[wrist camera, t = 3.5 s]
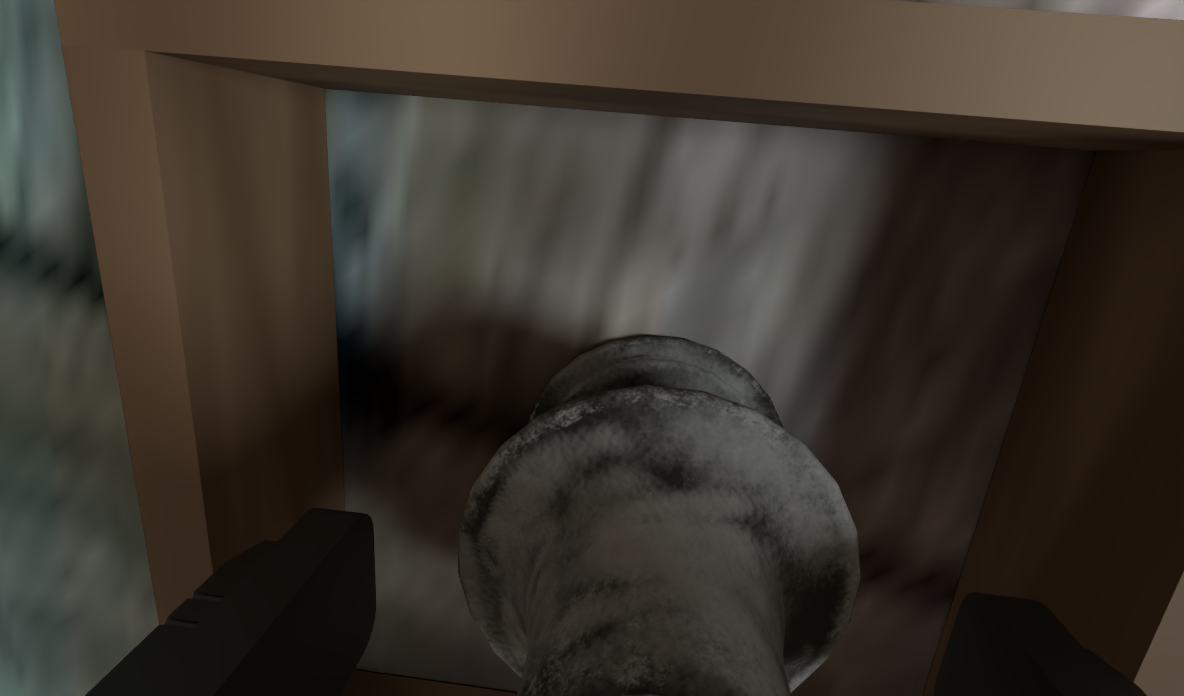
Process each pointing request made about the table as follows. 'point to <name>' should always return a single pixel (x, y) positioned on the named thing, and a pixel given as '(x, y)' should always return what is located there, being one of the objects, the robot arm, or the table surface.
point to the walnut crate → (641, 86)
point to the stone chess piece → (657, 534)
